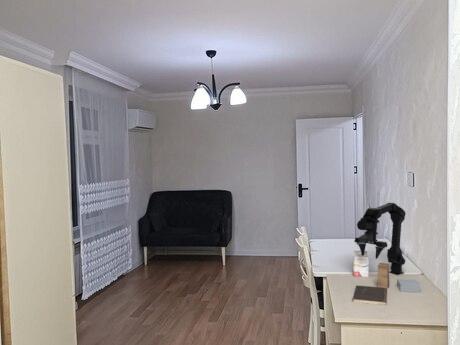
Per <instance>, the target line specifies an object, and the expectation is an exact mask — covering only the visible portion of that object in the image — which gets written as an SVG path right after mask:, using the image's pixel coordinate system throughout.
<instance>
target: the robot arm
mask: <svg viewBox="0 0 460 345" xmlns="http://www.w3.org/2000/svg"><path fill="white" fill-rule="evenodd" d="M386 213H388V214H389V215H390V220H391V222H392V230H391V243H390V244H391V245H390V247H389V248H388V243H387V241H383V240H380V241H379V240H378V239H377V235H379V232H378V224H379V223H380V221H379V219H380V218H382V215H383V214H386ZM406 213H407V212H406V211H405V210H404V209H403V208H402V207H400V206H399V205H398V204H397V203H395V202H387V203H385V204H383V205H380V206H377V207H368V208H367V209H366V211H365V212H364V215H363V216H362V217H360V219H359V220H358V221H357V223H356V227H357V229H358V230H360V231H364V234H361V235H360V236H359V237H355V238H354V241H353V242H354V243H355V244H356V245H357V246H358V247H359V251H361V252H360V254H362V256H364V252H365V251H366V246H367V244H370V245H375V246H374V248H375V260H376V259H378V258H379V256H380V254H381V253H382V251H383V250H385V249H386V248H387V253H386V258H387V262H388V263H389V264H390V270H389V274H393V275H403V274H404V273H405V272H404V271H403V265H405V264H406V259H405V258H404V255H403V251H402V249H401V246H400V245H401V232H402V223H403V222H404V221H405V219H406V215H407V214H406Z"/></svg>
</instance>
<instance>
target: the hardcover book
mask: <svg viewBox="0 0 460 345" xmlns="http://www.w3.org/2000/svg"><path fill="white" fill-rule="evenodd" d="M387 294H388V289H387V288H381V287H378V286H370V285H369V286H368V285H367V286H366V285H355V289H354V292H353V296H352V300H353V302H354V301H355V302H354V303H362V302H364V304H365V303H366V304H372V303H374V304H375V305H384V306H387V300H388V299H387V298H388V295H387Z"/></svg>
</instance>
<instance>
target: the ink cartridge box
mask: <svg viewBox="0 0 460 345" xmlns="http://www.w3.org/2000/svg"><path fill="white" fill-rule="evenodd" d="M369 262H370V260H369V256H368V251H367V250H365V252H364V256H362V254H361V250H353V255H352V275H353V276H354V277H366V278H368V277H369Z"/></svg>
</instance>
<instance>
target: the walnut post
mask: <svg viewBox="0 0 460 345" xmlns="http://www.w3.org/2000/svg"><path fill="white" fill-rule="evenodd" d="M389 272H390V263H389V262H388V263H386V262H379V263H378V264H377V287H381V288H387V290H388V289H389V288H390V273H389Z"/></svg>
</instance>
